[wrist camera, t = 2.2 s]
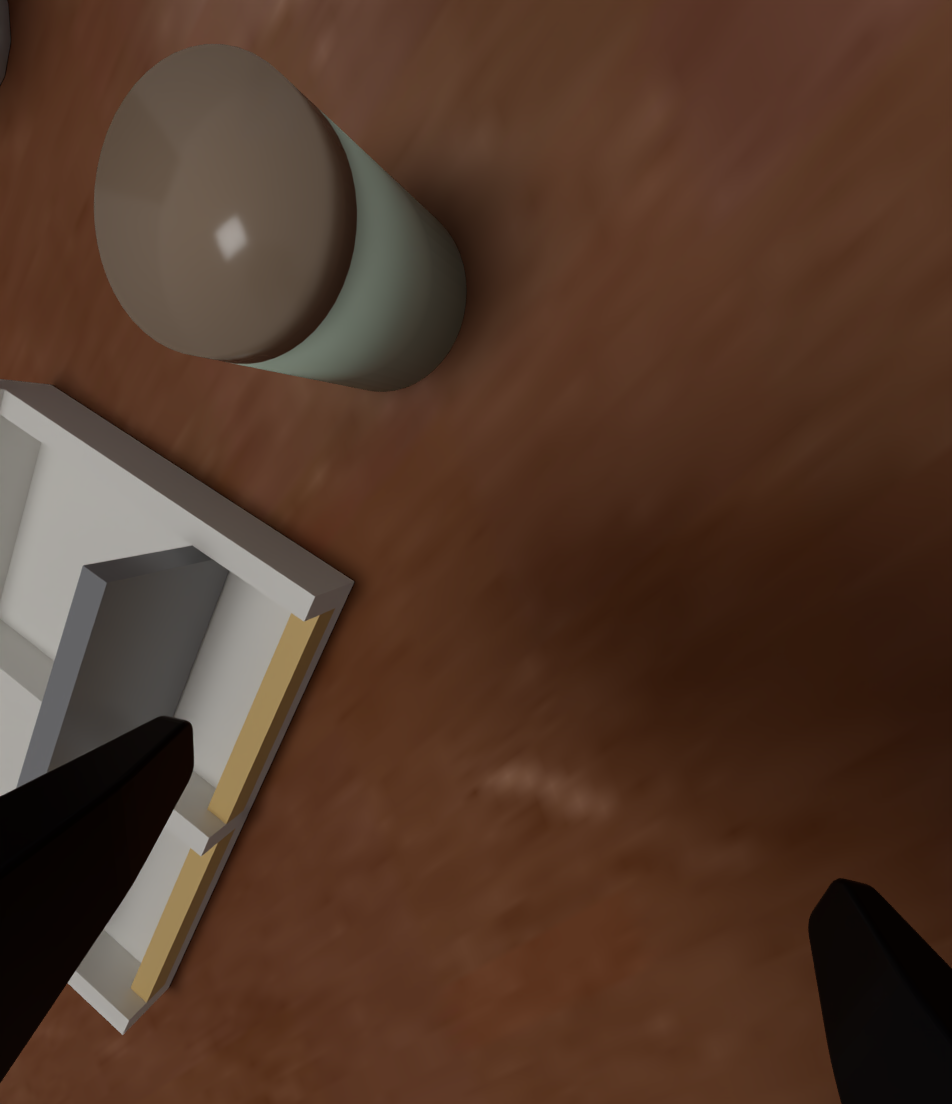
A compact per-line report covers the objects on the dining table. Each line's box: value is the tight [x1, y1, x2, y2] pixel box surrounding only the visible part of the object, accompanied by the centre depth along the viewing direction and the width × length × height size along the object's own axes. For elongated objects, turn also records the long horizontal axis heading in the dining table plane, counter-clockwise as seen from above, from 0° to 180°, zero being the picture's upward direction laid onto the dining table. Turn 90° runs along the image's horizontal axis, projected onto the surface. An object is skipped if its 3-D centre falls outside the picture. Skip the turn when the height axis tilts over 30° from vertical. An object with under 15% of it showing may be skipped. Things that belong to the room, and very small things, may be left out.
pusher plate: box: [16, 546, 229, 788], centre depth 22 cm, size 1×9×5 cm, turn 152°
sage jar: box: [94, 44, 467, 392], centre depth 16 cm, size 6×6×8 cm
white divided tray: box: [0, 379, 354, 1035], centre depth 24 cm, size 16×23×6 cm
